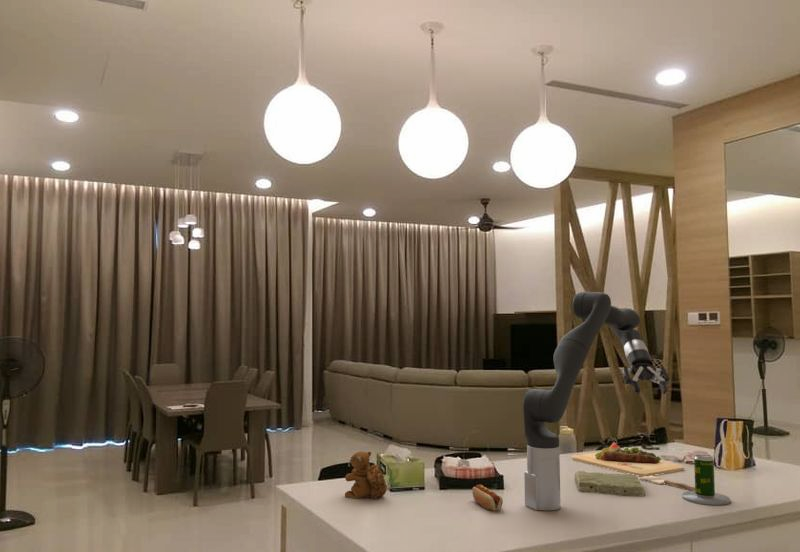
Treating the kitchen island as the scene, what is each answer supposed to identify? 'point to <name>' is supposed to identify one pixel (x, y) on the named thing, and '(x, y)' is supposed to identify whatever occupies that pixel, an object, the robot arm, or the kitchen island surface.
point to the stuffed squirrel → (365, 478)
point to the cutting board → (628, 461)
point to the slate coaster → (706, 499)
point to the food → (487, 498)
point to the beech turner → (668, 482)
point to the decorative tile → (608, 483)
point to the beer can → (704, 476)
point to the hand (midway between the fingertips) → (651, 392)
